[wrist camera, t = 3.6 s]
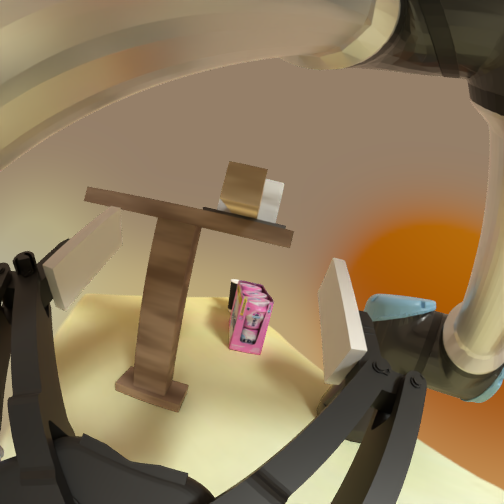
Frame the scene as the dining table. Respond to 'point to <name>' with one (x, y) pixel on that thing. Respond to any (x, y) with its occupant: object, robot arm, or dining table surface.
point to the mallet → (250, 193)
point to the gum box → (249, 317)
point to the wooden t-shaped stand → (172, 285)
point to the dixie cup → (232, 293)
